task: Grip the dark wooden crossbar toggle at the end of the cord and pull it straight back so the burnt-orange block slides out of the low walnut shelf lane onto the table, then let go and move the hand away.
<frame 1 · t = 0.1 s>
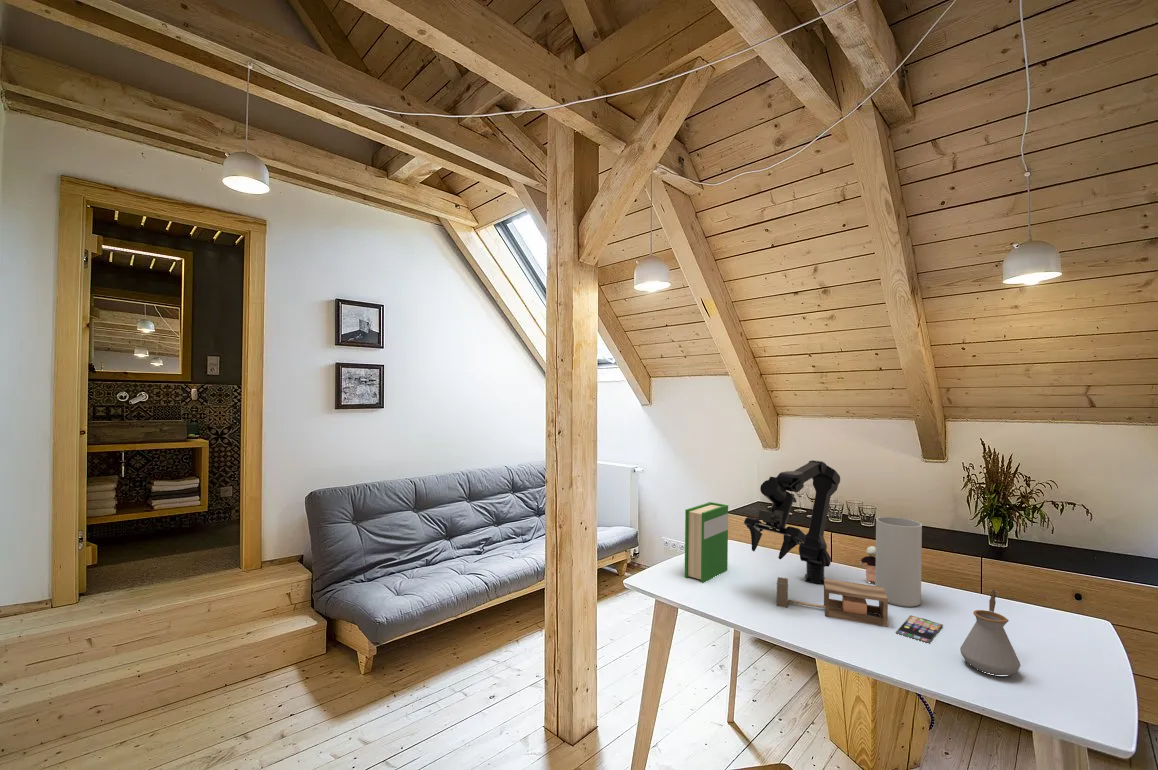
hand: (765, 554, 163), 15 cm above the table, tool tilted 30°, fingers open, 9 cm apart
shelf lane: (854, 615, 155), on the table
coffee pot: (990, 661, 130), on the table
hardback book: (706, 574, 188), on the table
smartphone: (919, 632, 146), on the table
grandmother figurine: (871, 583, 181), on the table
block: (854, 615, 155), on the table
cylinder vase: (897, 600, 167), on the table
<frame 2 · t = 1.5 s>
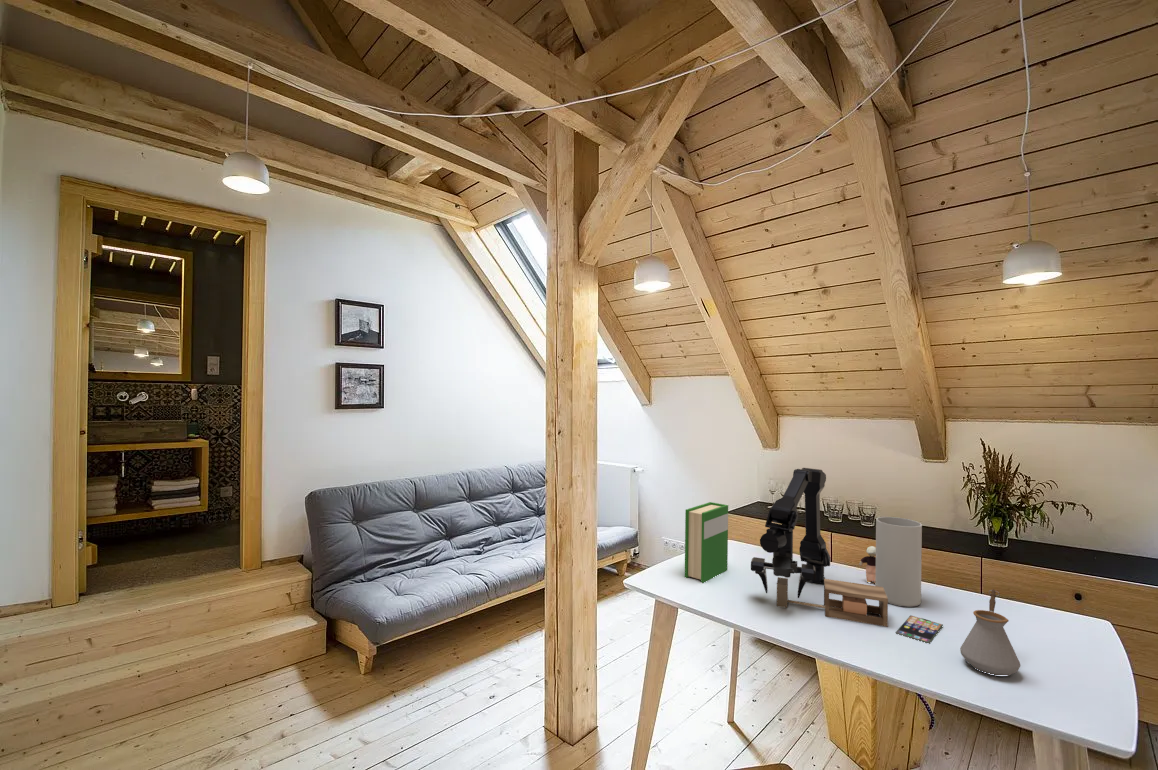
hand: (782, 595, 163), 2 cm above the table, tool pointing down, fingers open, 9 cm apart
nothing on the table moved.
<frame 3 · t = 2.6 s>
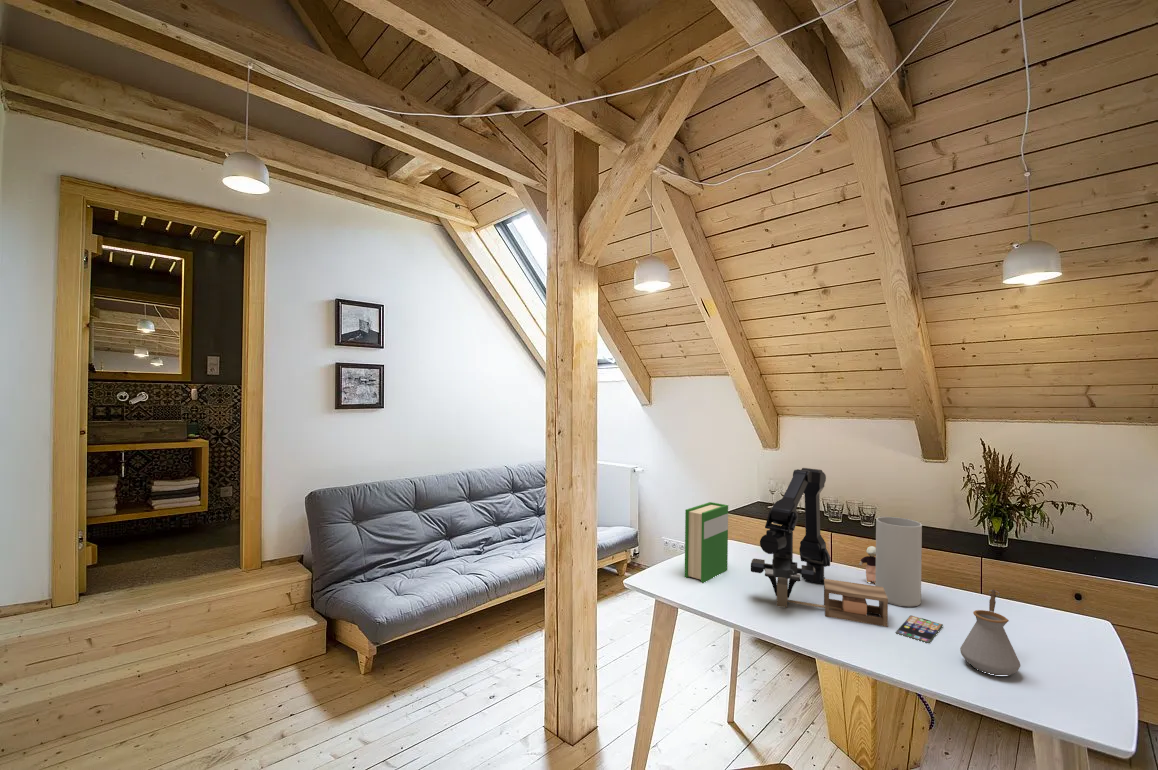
hand: (782, 596, 163), 2 cm above the table, tool pointing down, fingers closed on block, 3 cm apart
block: (854, 615, 155), on the table, touching gripper
everything else where it was.
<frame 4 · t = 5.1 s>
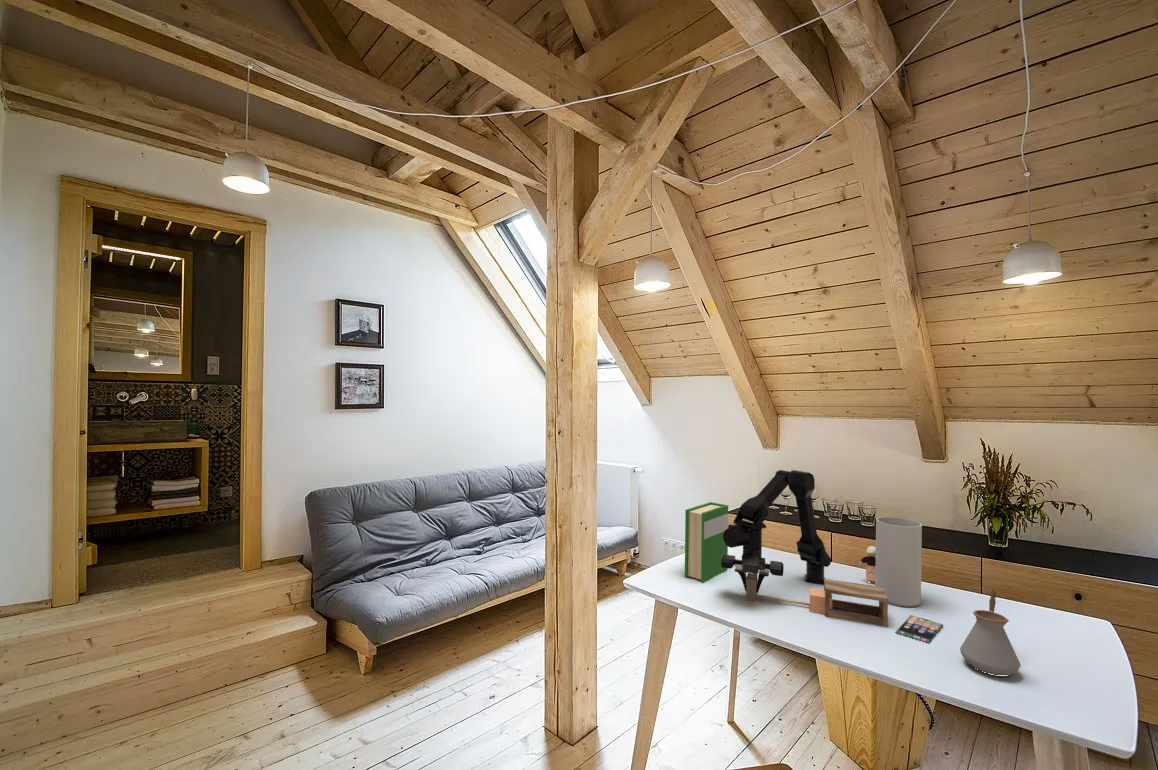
hand: (751, 591, 166), 2 cm above the table, tool pointing down, fingers closed on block, 3 cm apart
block: (820, 609, 158), on the table, touching gripper
everything else where it was.
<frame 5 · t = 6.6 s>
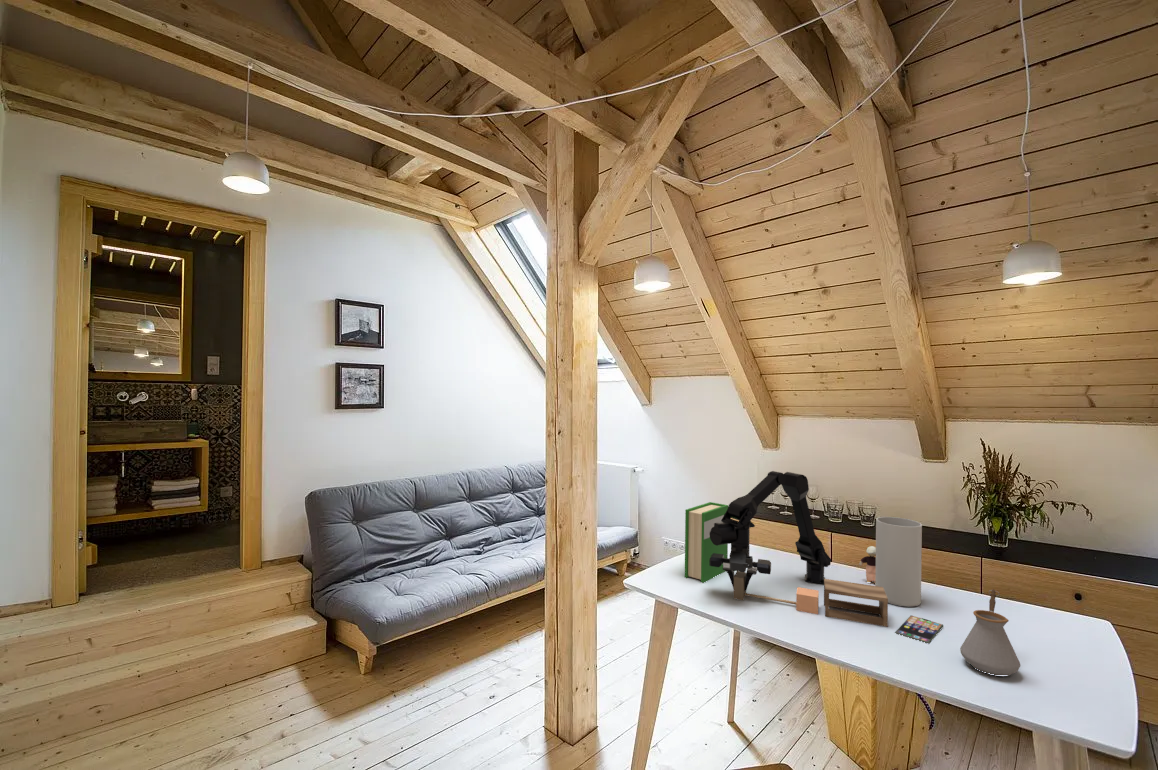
hand: (739, 589, 168), 2 cm above the table, tool pointing down, fingers closed on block, 3 cm apart
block: (807, 608, 159), on the table, touching gripper
everything else where it was.
when the fingers open (2 cm above the table, at t = 7.3 s): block stays where it is, on the table.
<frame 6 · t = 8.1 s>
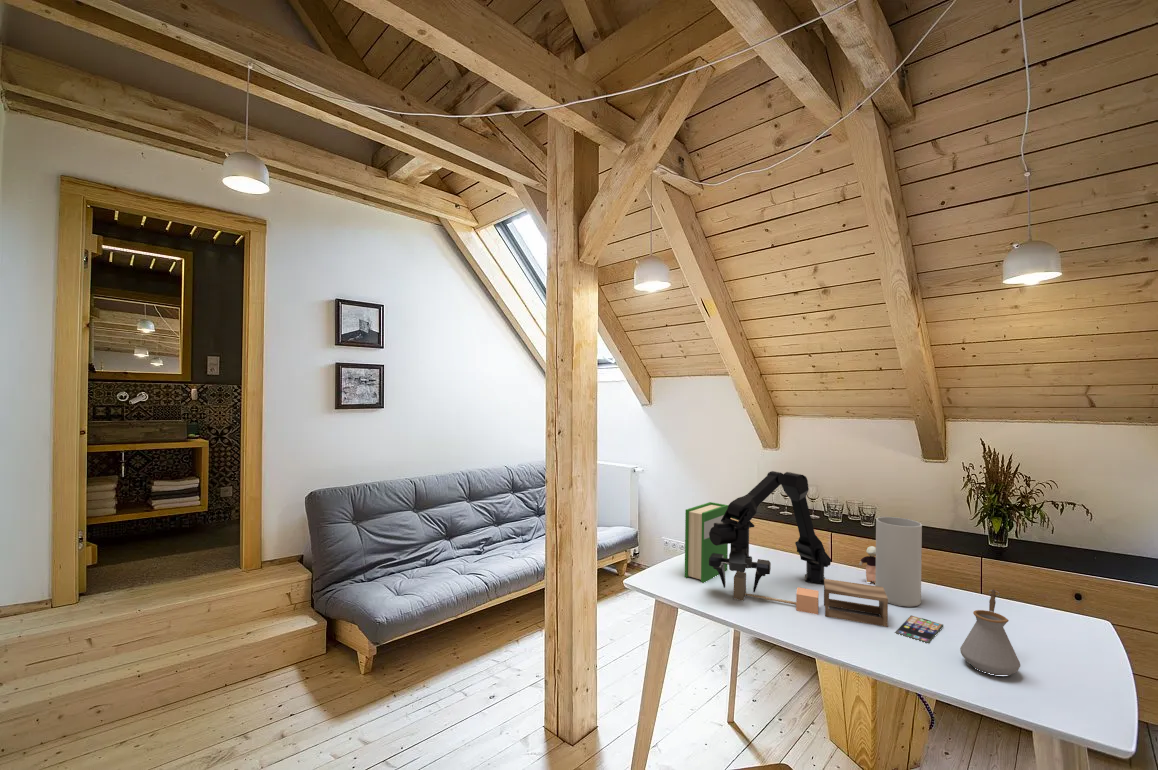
hand: (739, 589, 168), 2 cm above the table, tool pointing down, fingers open, 9 cm apart
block: (807, 608, 159), on the table
everything else where it was.
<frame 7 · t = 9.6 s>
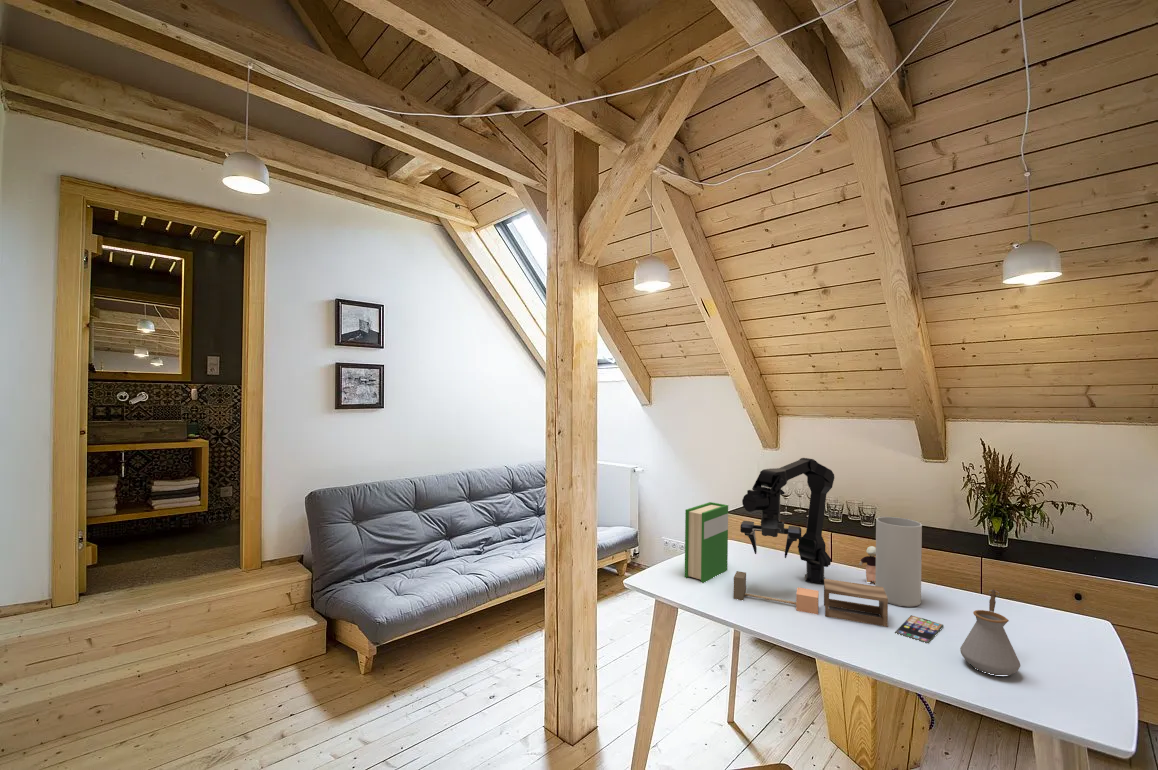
hand: (770, 555, 172), 12 cm above the table, tool pointing down, fingers open, 9 cm apart
nothing on the table moved.
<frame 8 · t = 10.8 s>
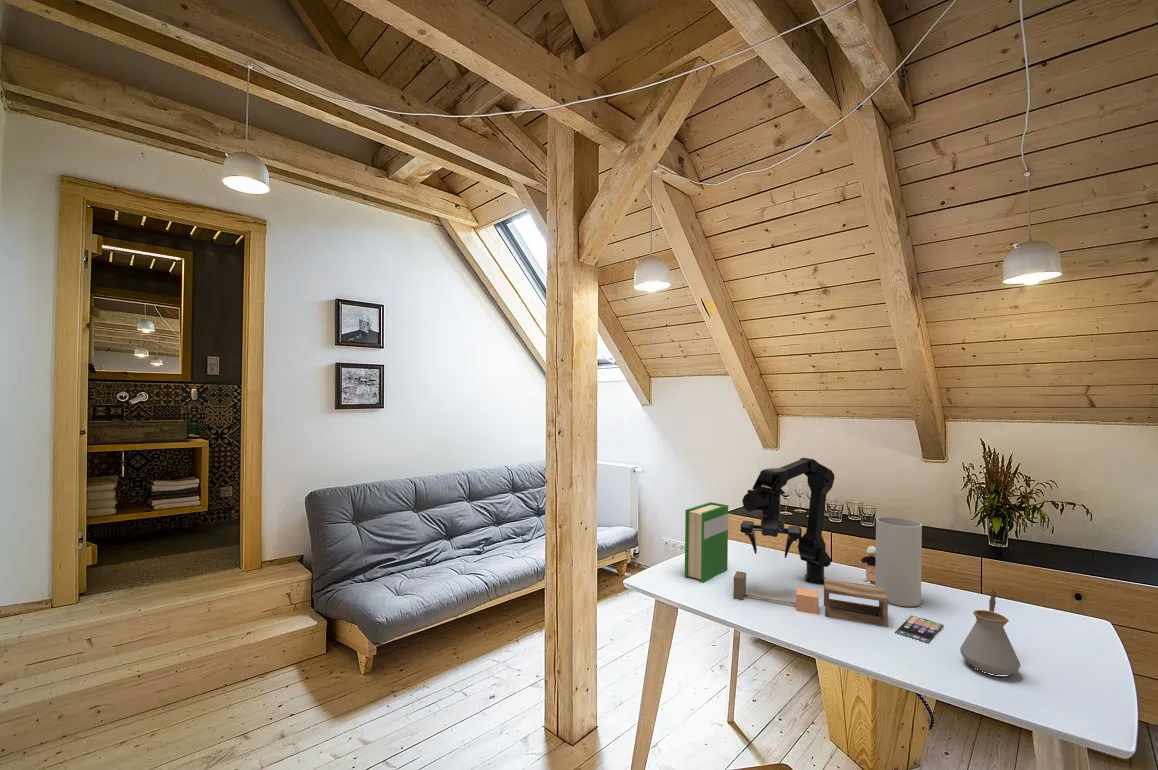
hand: (770, 555, 172), 12 cm above the table, tool pointing down, fingers open, 9 cm apart
nothing on the table moved.
at the end: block inside the target area (4.1 cm from its centre), on the table; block tilted 0°; the gripper is holding nothing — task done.
